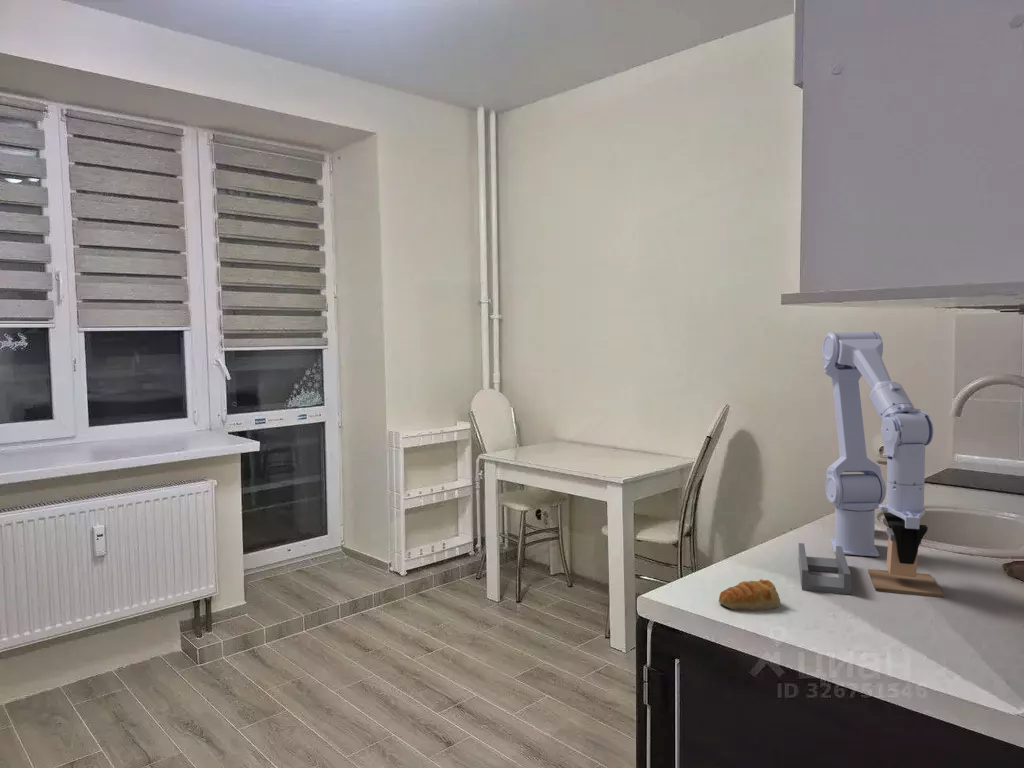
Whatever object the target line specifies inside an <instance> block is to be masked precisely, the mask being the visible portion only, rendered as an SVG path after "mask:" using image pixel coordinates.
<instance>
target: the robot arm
mask: <svg viewBox="0 0 1024 768" xmlns="http://www.w3.org/2000/svg"><path fill="white" fill-rule="evenodd" d="M883 353H884V342H883V339H882V336H881V335H880V333H879V332H878V331H876V330H870V331H851V332H850V331H849V332H846V331H845V332H834V331H830V332H828V333H826V335H825V336H824V339H823V341H822V345H821V356H822V368H823V371H824V375H826V376H828V377H830V378H831V384H832V392H833V394H832V395H833V396H832V397H833V402H834V403H833V404H834V413H835V415H834V417H835V425H836V434H837V435H836V436H837V443H838V453H839V458H838V459H837V460H835V461H834V462H833V463H832V464H830V465H829V466H828V467H827V469H826V480H825V488H824V489H825V494H826V498H827V500H828V501H829V502H830V504H832V505H833V506H834V507H835V508H834V521H835V522H834V538H833V537H831V538H830V543H831V547H832V550H833V553H834V554H836V546H842V549H843V552H844V555H849V556H850V555H852V556H862V557H863V556H864V557H875V558H877V557H879V556H880V554H879V551H878V549H877V548H876V545H875V527H876V526H875V524H876V520H875V519H876V510H877V509H879V511H883V516H884V518H885V521H886V523H887V525H888V528H892V531H893V533H894V536H895V540H896V546H897V553H898V558H899V561H900V563H904V564H914V562H915V559H916V555H917V551H918V552H919V547H920V545H921V544H920V542H921V543H922V539H923V538H924V536H925V535H926V534H927V532H928V529H929V527H928V526H927V525H926V524H921V523H920V520H921V518H922V517H923V516H924V515H925V514H926V508H925V481H926V480H925V473H926V468H925V467H926V466H925V465H926V446H929V445H930V443H931V442H932V440H933V437H934V424H933V422H932V419H931V417H930V415H929V414H928V413H927V412H925V411H922V410H921V409H919V408H915V405H914V404H913V403H912V401H911V399H910V397H909V396H908V394H907V392H906V391H905V389H904V387H903V386H902V384H901V383H899V382H896V381H892V379H891V377H890V375H889V371H888V370H887V368H886V365H885V363H884V360H883ZM861 378H863V379H864V381H865V382H866V383H867V385H868V386H869V387H870V389H871V390H870V393H869V395H868V396H869V401H870V403H871V404H872V406H873V408H874V409H875V412H876V414H877V415H878V417H879V419H880V421H881V427H880V435H881V438H882V443H883V452H884V455H886V459H887V461H886V463H887V464H886V483H885V481H884V478H883V475H882V470H881V466H879V465H878V464H877V463H875V462H874V461H872V460H871V459H870V458H868V456H867V447H866V446H867V445H866V439H865V428H864V421H863V411H862V400H861V399H862V398H861V391H860V390H861V389H860V383H859V381H860V379H861ZM846 473H847V474H846ZM854 473H855V474H854ZM885 499H886V504H885V503H883V502H884V500H885Z"/></svg>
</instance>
